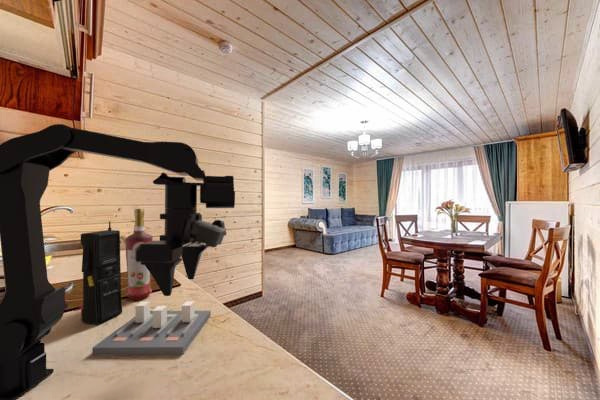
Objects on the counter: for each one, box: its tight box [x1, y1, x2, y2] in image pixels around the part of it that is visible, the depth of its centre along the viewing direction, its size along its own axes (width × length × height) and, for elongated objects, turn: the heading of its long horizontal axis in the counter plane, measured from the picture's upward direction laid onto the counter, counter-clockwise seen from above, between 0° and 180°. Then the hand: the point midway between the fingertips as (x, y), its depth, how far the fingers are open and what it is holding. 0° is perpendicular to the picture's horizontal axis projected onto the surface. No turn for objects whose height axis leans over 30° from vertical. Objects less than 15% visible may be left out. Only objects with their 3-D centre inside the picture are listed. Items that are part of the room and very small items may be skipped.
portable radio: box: [80, 220, 123, 325], centre depth 64 cm, size 8×6×25 cm
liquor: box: [124, 208, 154, 301], centre depth 78 cm, size 7×7×28 cm
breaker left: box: [134, 301, 151, 323], centre depth 60 cm, size 2×2×4 cm
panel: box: [91, 310, 212, 356], centre depth 57 cm, size 18×16×2 cm
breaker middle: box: [152, 305, 168, 328], centre depth 57 cm, size 2×2×4 cm
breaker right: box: [181, 300, 195, 322], centre depth 60 cm, size 2×2×4 cm
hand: (180, 286), depth 49 cm, fingers open, 9 cm apart
